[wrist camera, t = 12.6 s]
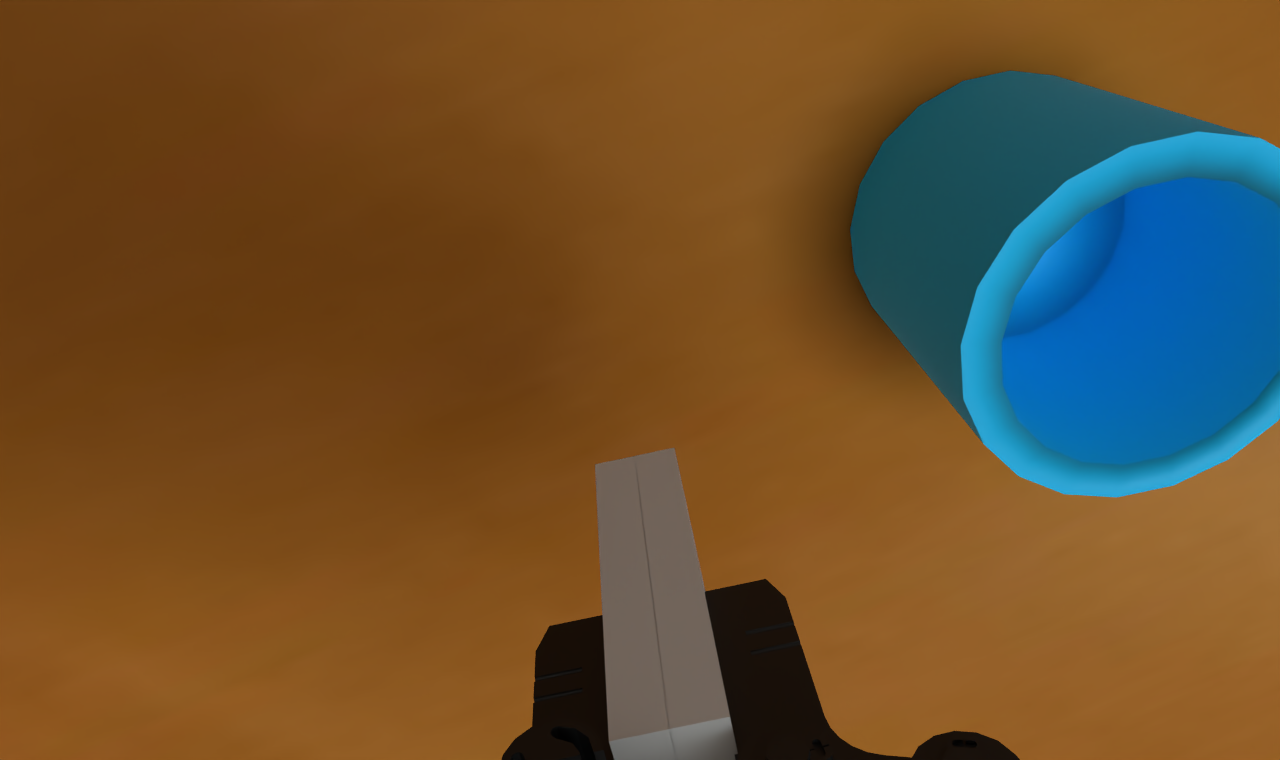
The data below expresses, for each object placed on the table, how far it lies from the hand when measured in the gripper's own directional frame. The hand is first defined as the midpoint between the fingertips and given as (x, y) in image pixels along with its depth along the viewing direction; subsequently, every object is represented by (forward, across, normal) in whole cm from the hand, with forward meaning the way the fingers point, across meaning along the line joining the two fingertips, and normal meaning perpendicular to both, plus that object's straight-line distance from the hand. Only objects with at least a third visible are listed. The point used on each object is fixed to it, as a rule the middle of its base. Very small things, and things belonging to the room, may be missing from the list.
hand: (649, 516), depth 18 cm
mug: (+11, +13, 0) cm, 17 cm away
